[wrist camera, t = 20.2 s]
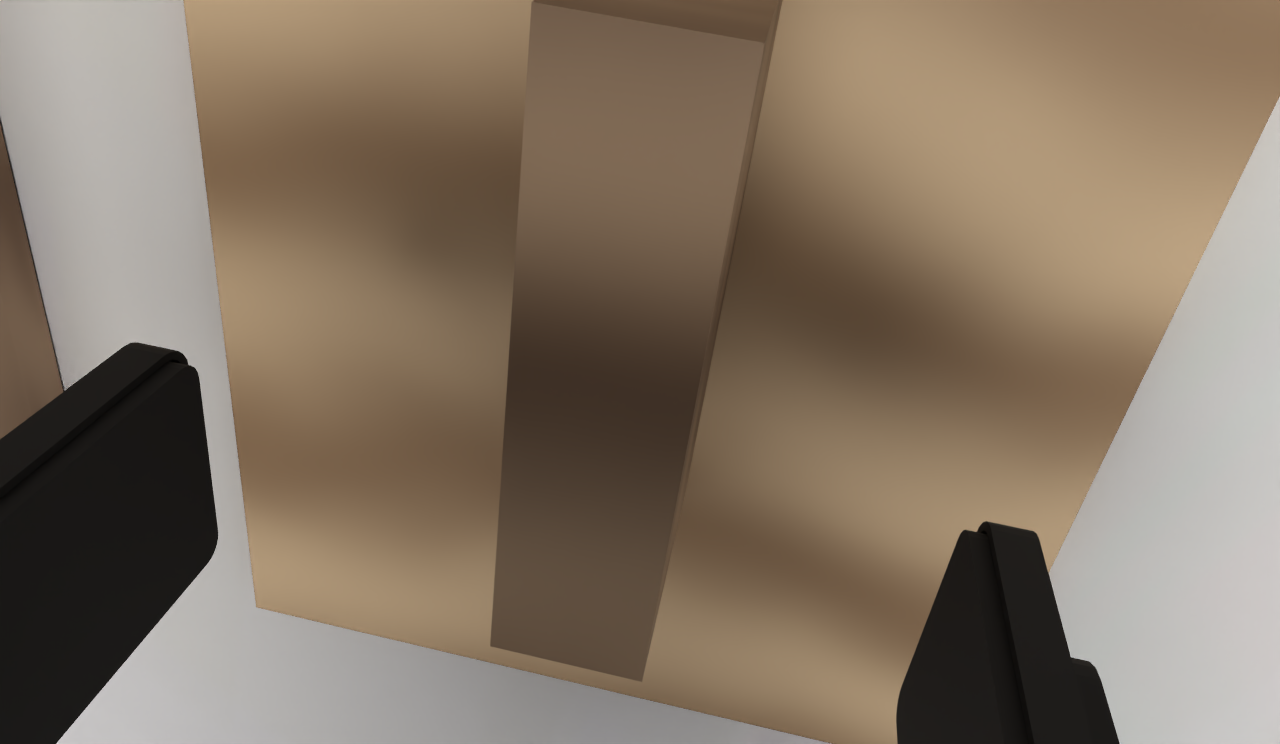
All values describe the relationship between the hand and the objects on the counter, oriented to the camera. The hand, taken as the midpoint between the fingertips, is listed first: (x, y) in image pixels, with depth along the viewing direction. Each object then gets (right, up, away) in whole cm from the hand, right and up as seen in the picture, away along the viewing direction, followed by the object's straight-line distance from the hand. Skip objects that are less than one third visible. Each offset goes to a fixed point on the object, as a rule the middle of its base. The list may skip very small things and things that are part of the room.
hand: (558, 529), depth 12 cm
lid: (+1, +5, +6) cm, 8 cm away
